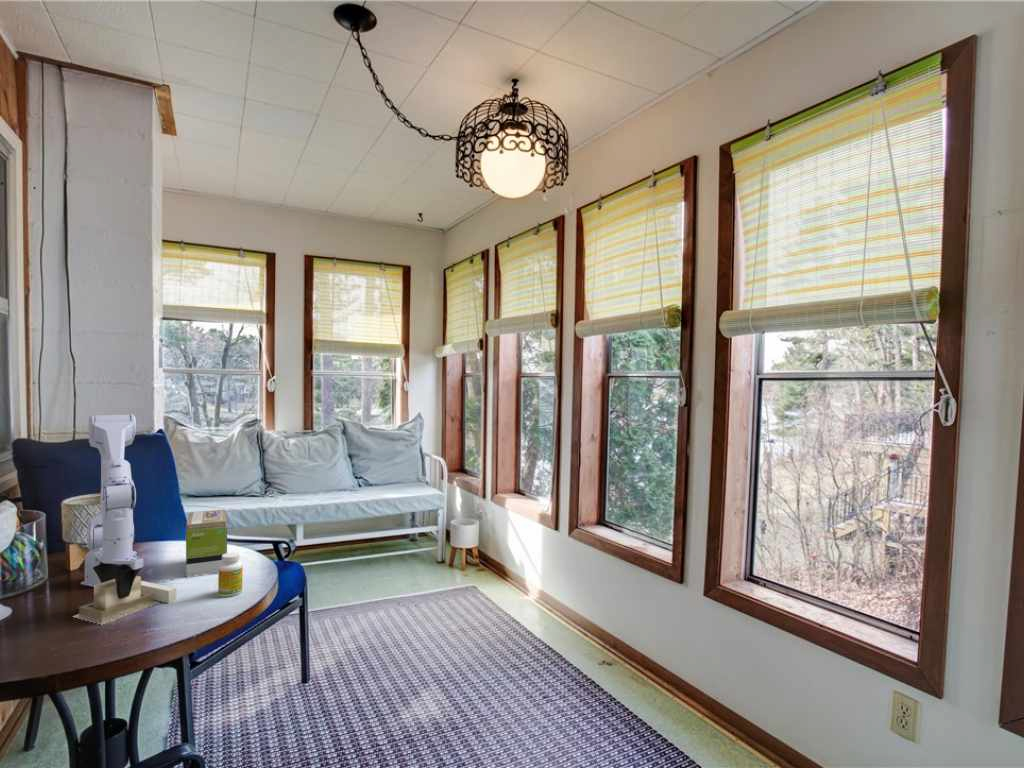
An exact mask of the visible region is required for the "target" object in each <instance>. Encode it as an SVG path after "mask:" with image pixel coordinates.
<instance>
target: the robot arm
mask: <svg viewBox="0 0 1024 768" xmlns="http://www.w3.org/2000/svg"><path fill="white" fill-rule="evenodd" d="M136 420H137V419H136V416H135V415H134V413H130V414H104V415H103V414H100V415H99V414H98V415H97V414H91V415H89V416H88V443H89V445H90V447H92V448H95V449H98V452H99V455H100V463H101V464H100V468H101V469H100V499H99V500H100V504H99V505H100V511H98V513H96V514H94V516H91V518H90V519H89V520H88V521H87V531H86V532H87V533H86V538H87V539H86V540H87V541H86V544H87V545H86V549H88V550H89V551H88V552H87V554H86V555H85V557H84V581H81V582H80V585H83V586H87V587H88V586H89V587H92V588H94V585H97V584H100V583H103V582H106V581H109V580H113V579H115V581H116V585H117V595H118V598H119V599H122V598H125V597H128V596H129V595H130V591H131V588H132V585H133V582H134V579H135V577H136V576H138V573H139V572H140V570H141V569H142V568H144V558H143V557H142V558H141V557H139V556H138V555H137V554H138V552H137V551H135V550H133V543H134V541H135V525H134V509H135V507H136V502H137V501H136V500H137V490H136V487H135V483H134V479H133V478H132V469H131V467H132V466H131V463H130V462H129V461H128V460H126V459H125V448H126V447H128V446H131V445H132V444H133V442H134V441H135V436H136V432H137V421H136Z"/></svg>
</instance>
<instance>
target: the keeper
mask: <svg viewBox="0 0 1024 768" xmlns="http://www.w3.org/2000/svg"><path fill="white" fill-rule="evenodd" d="M158 603H159V604H160V601H156V600H153V594H149V593H145V592H141V597H139V598H136V599H133V600H131V601H128V602H125V603H122V604H120V605H117V606H114V607H111V608H108V609H106V610H102V609H98V608H94V601H93V602H89V603H87V604H84V605H81V606H79V608H78V609H79V610H78V613H77V614H75V615H73V616H71V617H74V618H73V619H75V618H78V619H77V620H79V619H81V620H80V621H83V620H85V621H84V622H87V621H89V622H88V623H91V622H93V623H92V624H95V623H97V624H96V625H99V624H100V626H104V625H103V624H105V625H106V623H107V624H109V622H110V623H112V622H114V621H117V619H118V620H119V619H122V617H123V618H125V617H128V616H131V615H133V614H135V612H136V613H138V612H140V611H143V610H147V609H149V608H151V607H153V606H156V605H159V604H158ZM148 607H149V608H148ZM127 615H128V616H127Z"/></svg>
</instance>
